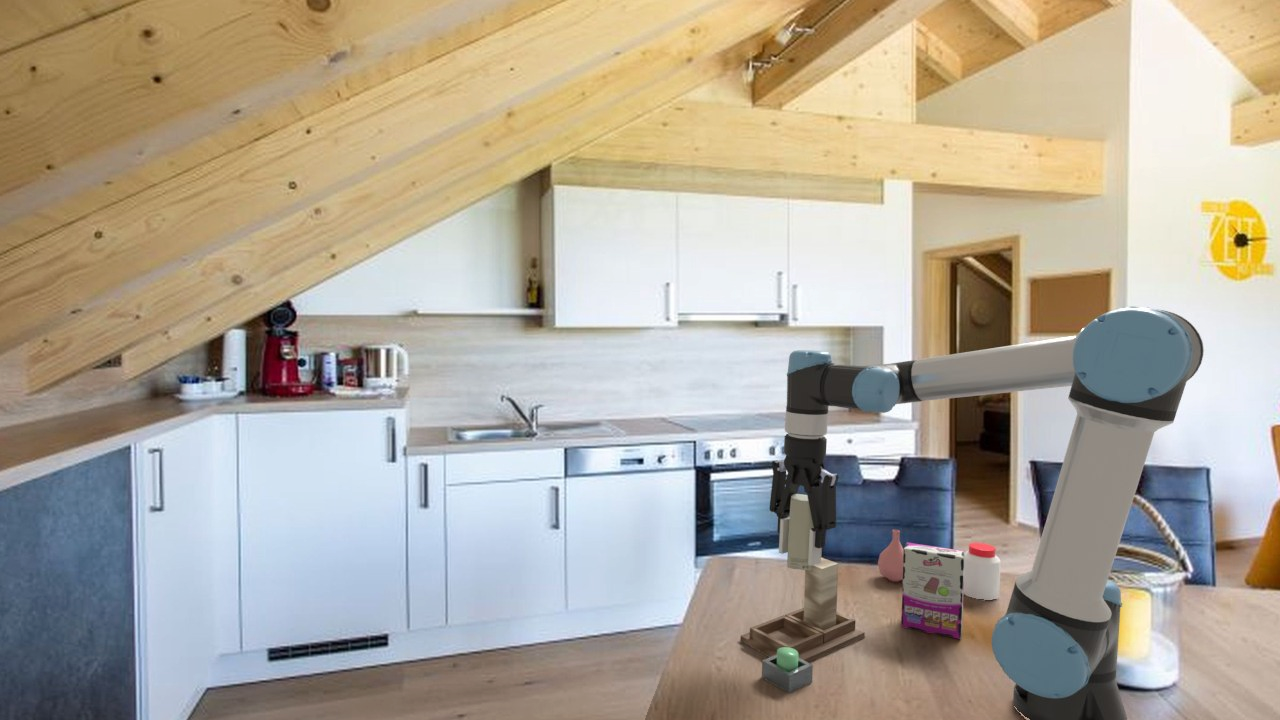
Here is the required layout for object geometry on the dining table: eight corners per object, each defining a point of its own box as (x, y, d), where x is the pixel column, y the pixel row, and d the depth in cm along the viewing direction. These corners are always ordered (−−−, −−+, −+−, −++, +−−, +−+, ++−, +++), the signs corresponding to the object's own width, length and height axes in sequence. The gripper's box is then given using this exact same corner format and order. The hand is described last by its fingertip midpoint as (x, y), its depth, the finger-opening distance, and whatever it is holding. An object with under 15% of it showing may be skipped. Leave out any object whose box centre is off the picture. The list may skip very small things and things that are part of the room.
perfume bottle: (879, 584, 158) (881, 534, 157) (875, 572, 165) (877, 524, 165) (914, 587, 156) (916, 537, 156) (908, 575, 164) (910, 527, 163)
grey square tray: (812, 681, 115) (812, 664, 115) (788, 693, 111) (789, 675, 111) (784, 667, 119) (785, 650, 119) (761, 677, 116) (762, 660, 116)
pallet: (864, 637, 131) (867, 567, 130) (793, 669, 119) (796, 592, 118) (810, 613, 142) (813, 548, 141) (740, 640, 129) (742, 569, 128)
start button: (802, 676, 115) (802, 653, 115) (788, 682, 113) (788, 659, 112) (785, 667, 118) (786, 645, 118) (771, 673, 116) (772, 651, 115)
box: (811, 571, 122) (816, 502, 121) (786, 568, 123) (791, 500, 122) (810, 561, 127) (814, 494, 126) (786, 558, 128) (790, 492, 127)
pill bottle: (953, 590, 155) (955, 543, 155) (976, 584, 159) (979, 539, 158) (983, 603, 148) (985, 554, 148) (1006, 597, 152) (1009, 549, 151)
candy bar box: (962, 630, 135) (966, 550, 134) (961, 640, 131) (965, 557, 130) (902, 617, 140) (906, 540, 139) (900, 627, 136) (903, 547, 135)
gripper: (863, 442, 118) (855, 570, 119) (779, 424, 133) (774, 538, 135) (836, 446, 113) (829, 579, 115) (752, 428, 128) (747, 545, 130)
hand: (799, 557), depth 125 cm, fingers closed on box, 6 cm apart
